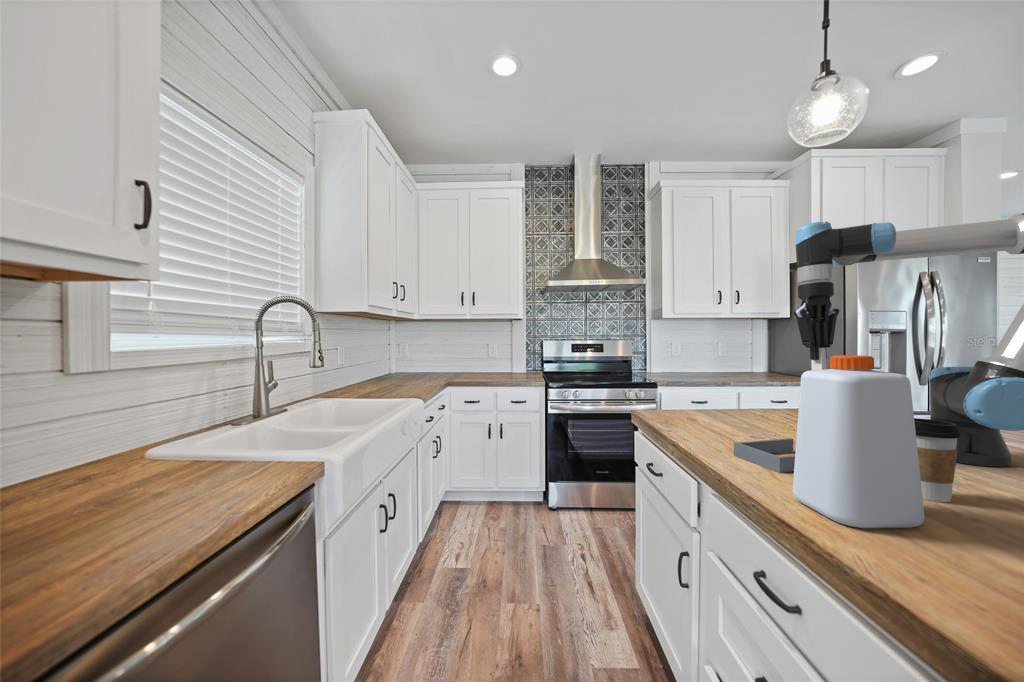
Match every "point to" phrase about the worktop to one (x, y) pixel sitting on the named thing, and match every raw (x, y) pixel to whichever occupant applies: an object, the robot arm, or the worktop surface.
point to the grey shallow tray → (767, 453)
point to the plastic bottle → (858, 446)
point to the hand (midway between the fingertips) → (819, 372)
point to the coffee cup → (936, 457)
